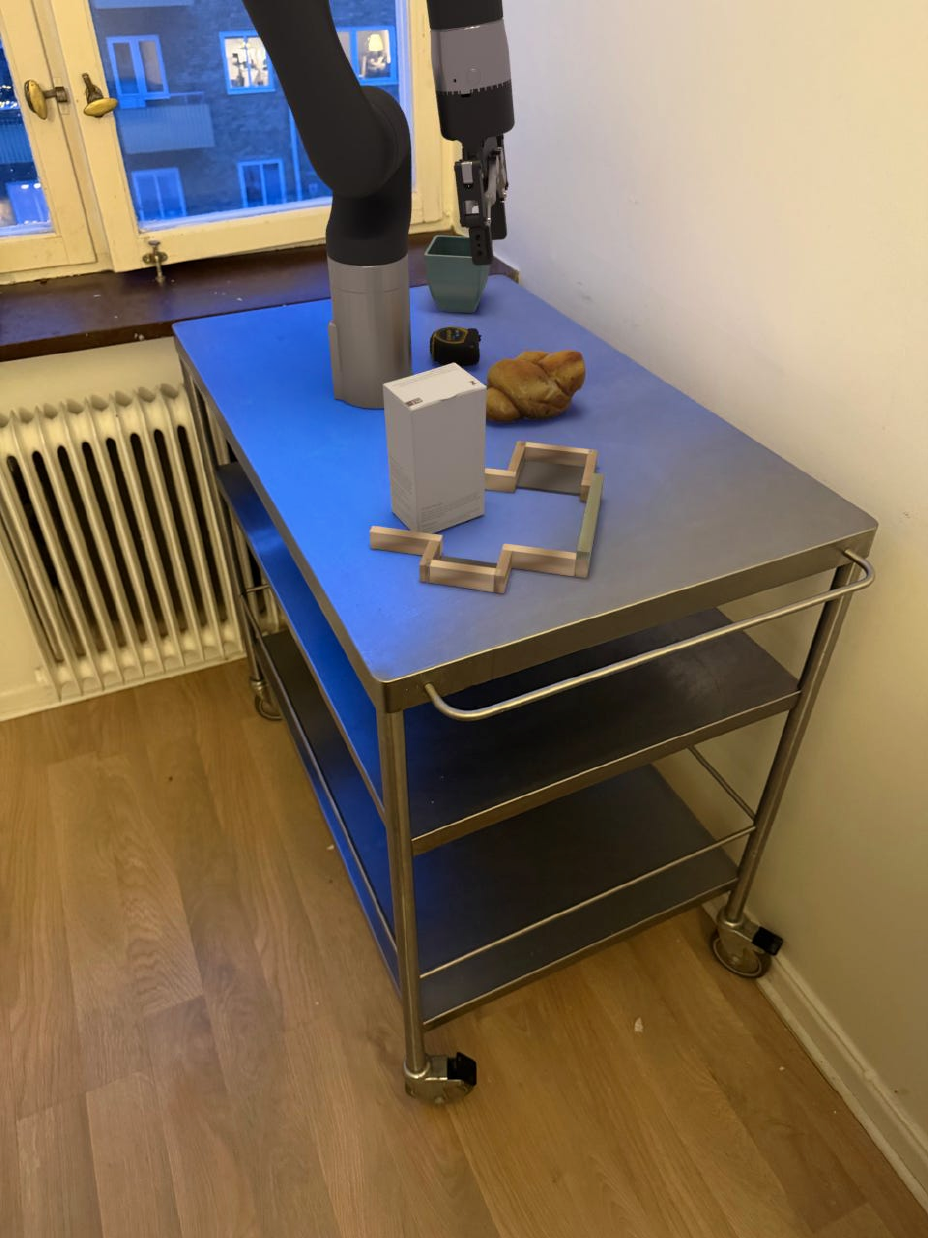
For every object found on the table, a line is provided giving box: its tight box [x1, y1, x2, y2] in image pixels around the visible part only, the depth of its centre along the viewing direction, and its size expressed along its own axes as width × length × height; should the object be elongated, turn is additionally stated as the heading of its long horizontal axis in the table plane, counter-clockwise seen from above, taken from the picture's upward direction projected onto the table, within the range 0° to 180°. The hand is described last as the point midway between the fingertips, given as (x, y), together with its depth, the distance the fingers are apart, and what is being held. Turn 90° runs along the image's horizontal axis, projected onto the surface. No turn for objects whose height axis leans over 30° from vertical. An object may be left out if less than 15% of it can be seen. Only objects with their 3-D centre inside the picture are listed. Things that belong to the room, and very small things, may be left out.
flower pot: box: [423, 234, 494, 314], centre depth 130 cm, size 9×9×9 cm
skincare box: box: [383, 363, 487, 534], centre depth 86 cm, size 8×6×15 cm
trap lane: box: [369, 440, 605, 594], centre depth 90 cm, size 21×24×3 cm
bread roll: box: [486, 349, 586, 424], centre depth 106 cm, size 13×10×8 cm
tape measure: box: [429, 326, 483, 368], centre depth 117 cm, size 7×7×4 cm
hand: (490, 251), depth 96 cm, fingers open, 8 cm apart
